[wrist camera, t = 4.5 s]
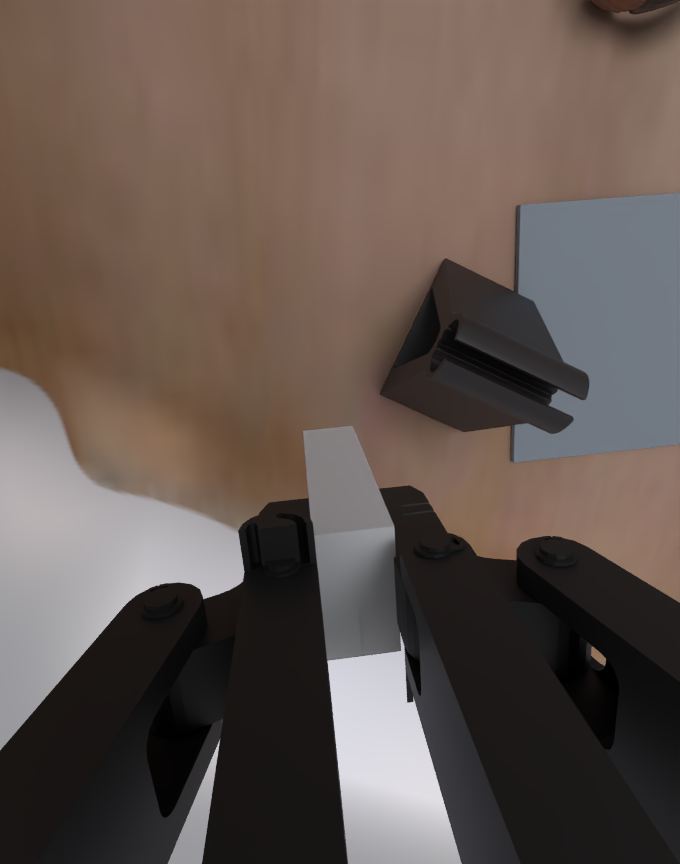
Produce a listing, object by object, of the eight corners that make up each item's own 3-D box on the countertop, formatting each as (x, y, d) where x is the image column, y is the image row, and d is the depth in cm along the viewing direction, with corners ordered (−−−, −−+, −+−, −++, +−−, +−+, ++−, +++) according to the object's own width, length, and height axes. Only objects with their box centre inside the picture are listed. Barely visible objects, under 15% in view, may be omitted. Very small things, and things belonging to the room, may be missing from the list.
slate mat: (510, 459, 36) (513, 462, 35) (517, 205, 31) (520, 205, 30) (786, 429, 37) (792, 432, 36) (834, 181, 32) (842, 180, 32)
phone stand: (462, 430, 34) (525, 503, 22) (378, 392, 33) (400, 447, 22) (531, 301, 32) (641, 308, 20) (444, 257, 31) (506, 239, 20)
